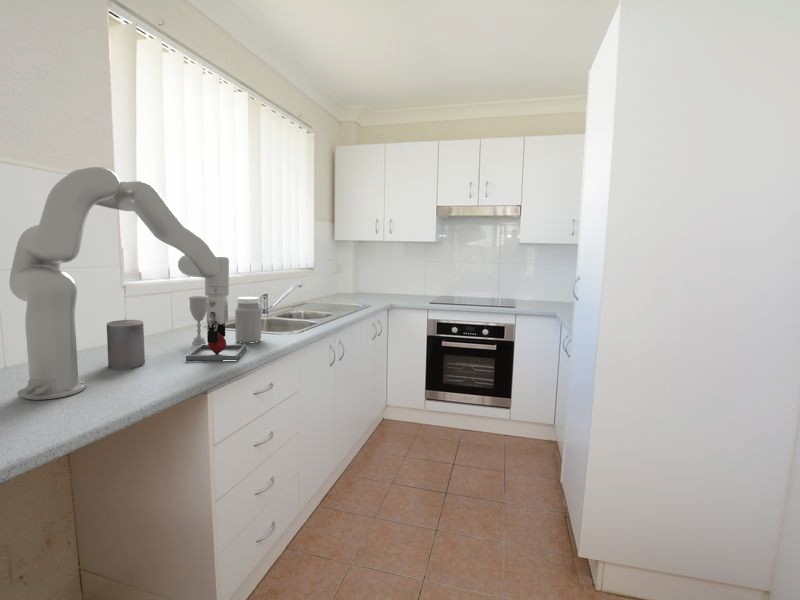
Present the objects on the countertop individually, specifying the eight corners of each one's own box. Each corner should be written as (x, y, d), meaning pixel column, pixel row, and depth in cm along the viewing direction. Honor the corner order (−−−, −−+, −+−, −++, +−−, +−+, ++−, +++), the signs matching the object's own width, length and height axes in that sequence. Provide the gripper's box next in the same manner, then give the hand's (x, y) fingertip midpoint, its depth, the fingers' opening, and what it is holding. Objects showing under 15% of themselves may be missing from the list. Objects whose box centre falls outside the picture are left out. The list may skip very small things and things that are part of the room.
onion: (229, 352, 147) (229, 330, 146) (220, 356, 142) (220, 333, 141) (213, 351, 148) (213, 329, 147) (204, 355, 142) (204, 332, 141)
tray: (236, 361, 139) (236, 355, 139) (185, 361, 136) (185, 355, 136) (246, 349, 154) (246, 344, 154) (201, 349, 152) (201, 344, 152)
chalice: (184, 343, 160) (183, 297, 158) (198, 339, 166) (197, 295, 164) (200, 345, 158) (199, 299, 155) (213, 341, 164) (212, 297, 162)
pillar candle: (111, 362, 132) (109, 316, 130) (146, 359, 136) (145, 315, 134) (105, 371, 123) (102, 322, 121) (143, 368, 128) (141, 320, 126)
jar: (261, 343, 165) (261, 299, 163) (235, 344, 162) (235, 299, 159) (260, 338, 174) (260, 296, 172) (235, 339, 170) (235, 296, 168)
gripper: (221, 294, 134) (221, 345, 136) (234, 289, 151) (233, 334, 153) (197, 293, 133) (197, 344, 135) (212, 288, 150) (212, 334, 152)
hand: (216, 339), depth 144 cm, fingers open, 9 cm apart
